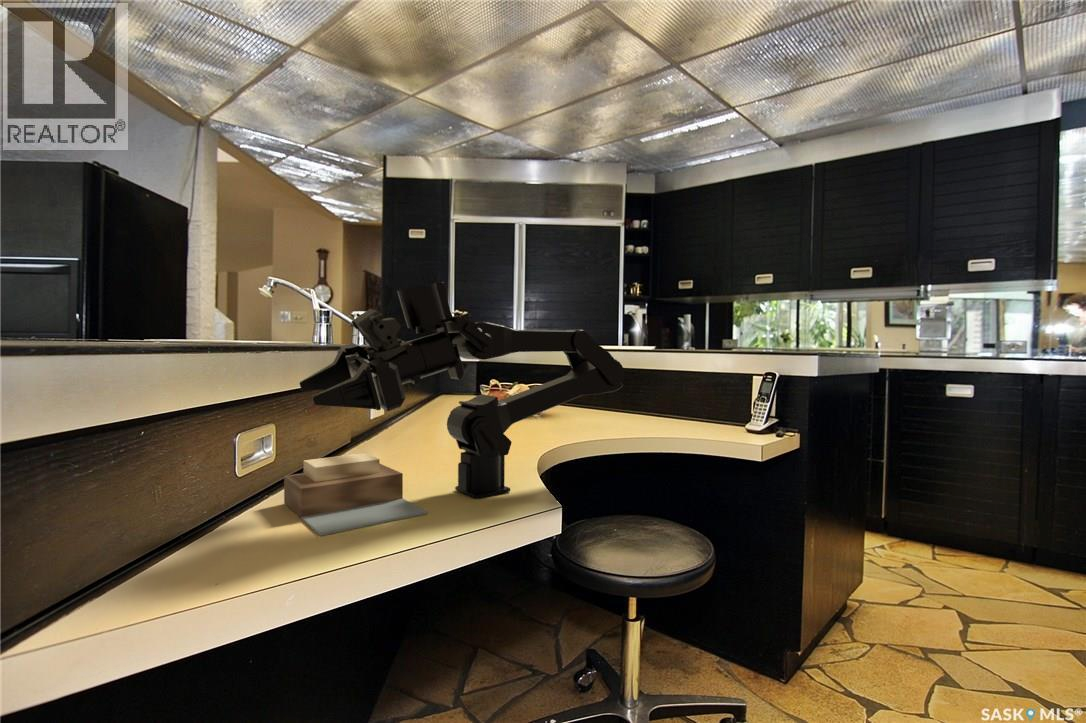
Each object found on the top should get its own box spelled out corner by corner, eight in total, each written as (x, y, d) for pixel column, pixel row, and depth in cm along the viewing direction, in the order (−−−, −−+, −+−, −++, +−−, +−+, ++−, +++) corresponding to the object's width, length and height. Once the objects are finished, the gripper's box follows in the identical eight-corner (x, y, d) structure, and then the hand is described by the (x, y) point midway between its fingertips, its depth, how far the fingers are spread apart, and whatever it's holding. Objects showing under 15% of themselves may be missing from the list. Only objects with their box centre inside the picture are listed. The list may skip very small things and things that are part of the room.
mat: (402, 500, 78) (402, 498, 78) (427, 513, 71) (427, 511, 71) (301, 519, 69) (301, 516, 69) (319, 536, 62) (319, 533, 62)
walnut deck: (378, 487, 85) (378, 463, 84) (402, 500, 78) (402, 473, 77) (284, 503, 76) (284, 475, 76) (301, 519, 69) (301, 488, 69)
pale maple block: (364, 465, 82) (364, 453, 82) (379, 472, 78) (379, 459, 78) (303, 474, 77) (303, 460, 77) (315, 482, 72) (315, 467, 72)
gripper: (384, 300, 82) (277, 326, 74) (429, 310, 67) (300, 344, 59) (401, 367, 85) (300, 399, 78) (447, 391, 70) (328, 433, 62)
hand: (306, 393), depth 69 cm, fingers open, 9 cm apart
